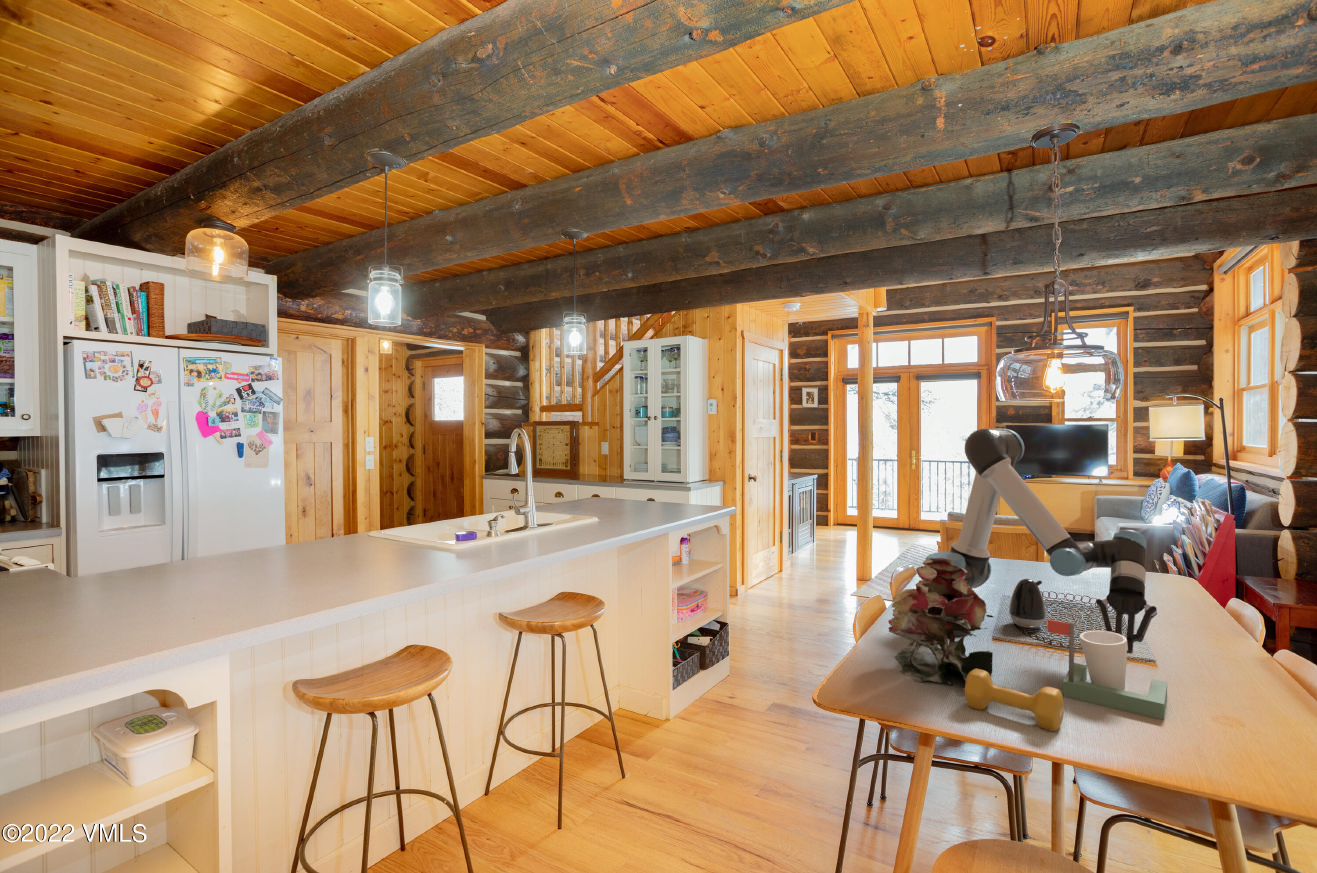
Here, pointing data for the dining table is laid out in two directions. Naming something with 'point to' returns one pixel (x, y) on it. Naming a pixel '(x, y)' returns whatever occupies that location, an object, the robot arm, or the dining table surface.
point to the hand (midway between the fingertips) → (1122, 663)
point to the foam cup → (1105, 657)
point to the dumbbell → (1015, 699)
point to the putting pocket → (1104, 695)
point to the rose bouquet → (939, 623)
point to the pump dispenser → (1027, 604)
